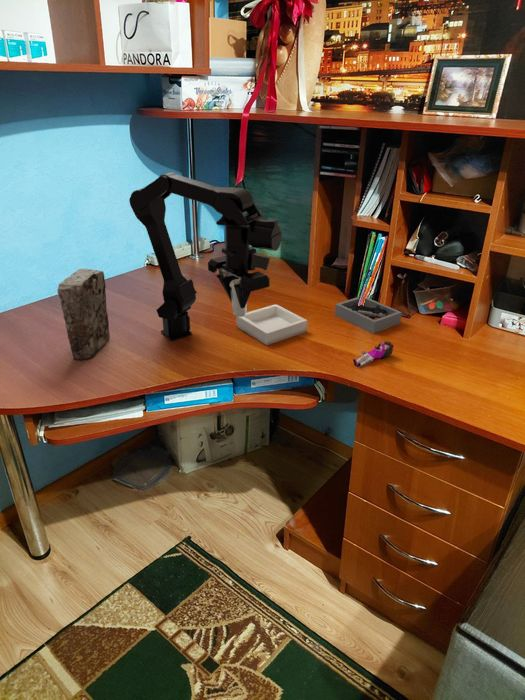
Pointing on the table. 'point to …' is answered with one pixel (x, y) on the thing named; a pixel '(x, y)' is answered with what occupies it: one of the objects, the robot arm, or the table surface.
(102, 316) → the stone block
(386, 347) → the character figurine
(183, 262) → the table surface
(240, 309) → the milkshake
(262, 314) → the tray
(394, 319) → the gray open box
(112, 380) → the table surface
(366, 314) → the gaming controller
